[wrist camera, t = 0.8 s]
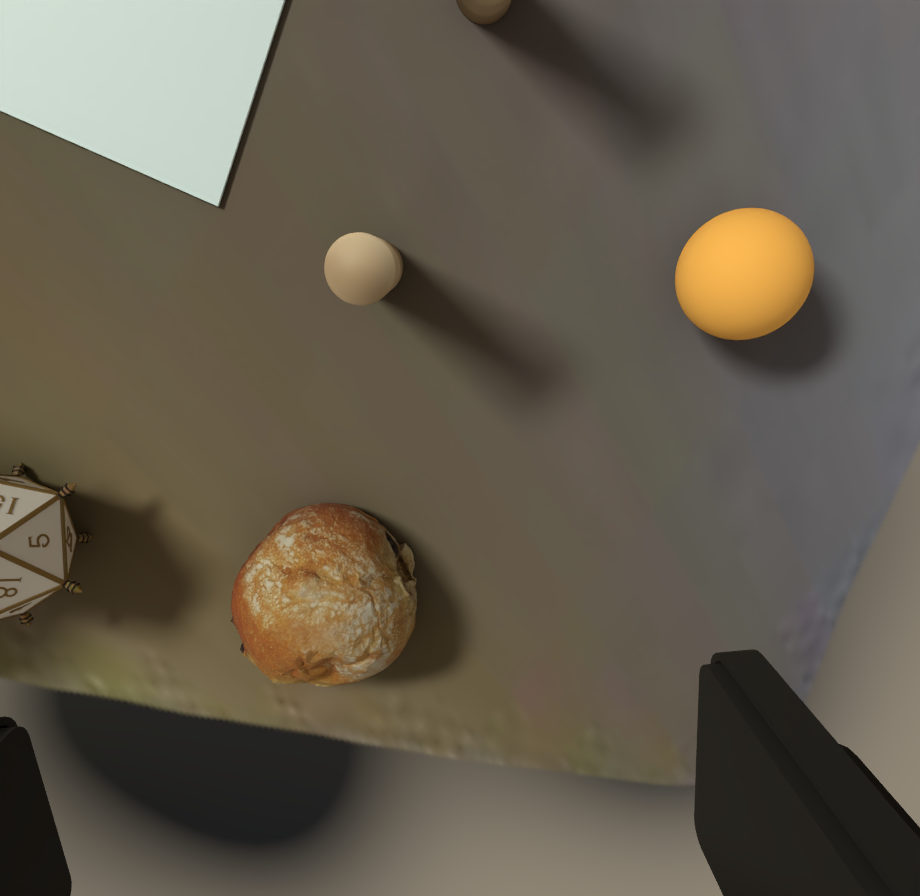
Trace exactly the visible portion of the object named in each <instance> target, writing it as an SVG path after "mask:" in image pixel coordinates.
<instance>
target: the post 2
mask: <svg viewBox="0 0 920 896" xmlns="http://www.w3.org/2000/svg"><path fill="white" fill-rule="evenodd" d="M511 1H512V0H457V4H458V6H459V8H460V10H461V12H462V13H463V14H464V15H465V17H467V18H468V19H469V20H471V21H472V22H474V23H477V24H491V23H494V22H496V21H498V20H499V19H501V18H502V17H503V16H504V14H505V13H506V12H507V10H508V8H509V6H510V4H511Z"/></svg>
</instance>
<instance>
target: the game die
mask: <svg viewBox="0 0 920 896" xmlns="http://www.w3.org/2000/svg"><path fill="white" fill-rule="evenodd" d="M13 468H14V470H12V472H13V475H0V620H2V619H6V618H10V617H14V616H17V615H20V619H19V620H21V624H25V625H28V626H30V625H31V622H32V620H33V619H34V618H33V617H31V614H30V613H28V612H27V611H29V610H30V609H32V608H33V607H35V606H36V605H38V604H39V603H41V602H42V601H44V600H45V599H47V598H48V597H50V596H51V595H53V594H54V593H56V592H57V591H59V590H60V589H62V588H63V587H64V588H66V589H67V591H68V592H69V591H70V592H71V593H72V594H74V593H80V592H82V589H81V587H80V583H78V584H77V583H76V582H75V581H74V582H70V581H69V575H70V571H71V566H72V562H73V558H74V553H75V549H76V545H77V542H78V541H79V542H81V543H83V542H86V543H88V541H89V540H90V539H91V538H92V537H93V536H91V535H89V534H88V533H87V532H85V533H81V534H79V535H77V534H76V532H75V529H74V526H73V523H72V520H71V517H70V514H69V511H68V508H67V505H66V503H65V500H64V497H65V496H70V495H71V493H75V491H74V490H75V487H76V484H67V483H66V484H65V486H64V487H62V488H61V491H59V492H57V491H54V490H52V489H49V488H47V487H44V486H42V485H39V484H37V483H34V482H32V481H29V480H27V479H24V478H22V477H21V476H22V475H23V474H24V471H25V470H26V469H25V468H24V466H23V464H22V463H20V464H19V465H17V466H13Z"/></svg>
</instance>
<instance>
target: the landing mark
mask: <svg viewBox="0 0 920 896" xmlns="http://www.w3.org/2000/svg"><path fill="white" fill-rule="evenodd" d="M285 1H286V0H0V111H2V112H4V113H7V114H9V115H11V116H14V117H16V118H18V119H20V120H23V121H25V122H27V123H29V124H32V125H34V126H36V127H38V128H41V129H43V130H45V131H48V132H50V133H52V134H54V135H57V136H59V137H61V138H63V139H66V140H68V141H70V142H73V143H75V144H77V145H79V146H82V147H84V148H86V149H88V150H91V151H93V152H95V153H98V154H100V155H102V156H104V157H107V158H109V159H111V160H113V161H116V162H118V163H120V164H123V165H125V166H127V167H129V168H132V169H134V170H136V171H138V172H141V173H143V174H145V175H148V176H150V177H152V178H154V179H157V180H159V181H161V182H163V183H166V184H168V185H170V186H173V187H175V188H177V189H179V190H182V191H184V192H186V193H188V194H191V195H193V196H195V197H197V198H200V199H202V200H204V201H207V202H209V203H211V204H213V205H216V206H218V207H219V205H220V202H221V199H222V196H223V193H224V189H225V186H226V183H227V180H228V177H229V174H230V171H231V168H232V165H233V162H234V159H235V155H236V152H237V149H238V146H239V143H240V140H241V137H242V134H243V131H244V128H245V124H246V121H247V118H248V115H249V112H250V109H251V106H252V103H253V100H254V97H255V94H256V90H257V87H258V84H259V81H260V78H261V75H262V72H263V69H264V66H265V63H266V60H267V56H268V53H269V50H270V47H271V44H272V41H273V38H274V35H275V32H276V29H277V25H278V22H279V19H280V16H281V13H282V10H283V7H284V4H285Z"/></svg>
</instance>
